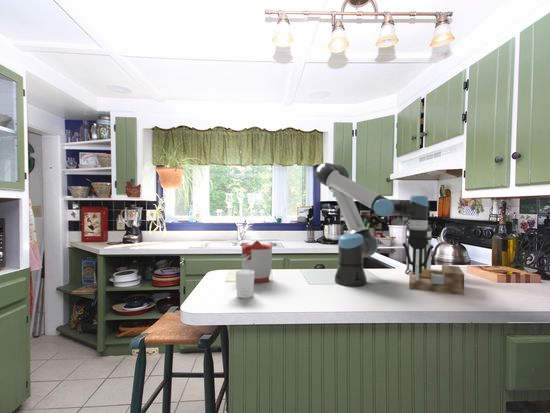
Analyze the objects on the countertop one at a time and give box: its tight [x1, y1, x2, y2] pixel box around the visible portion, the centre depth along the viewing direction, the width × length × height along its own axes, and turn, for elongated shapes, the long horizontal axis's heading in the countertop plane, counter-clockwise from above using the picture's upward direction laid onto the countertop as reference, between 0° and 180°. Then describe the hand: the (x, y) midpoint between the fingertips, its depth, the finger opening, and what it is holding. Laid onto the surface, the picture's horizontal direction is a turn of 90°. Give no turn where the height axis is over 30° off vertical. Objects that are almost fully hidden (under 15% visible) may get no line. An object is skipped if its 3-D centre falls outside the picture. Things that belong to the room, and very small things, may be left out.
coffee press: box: [404, 225, 433, 275], centre depth 156 cm, size 17×16×30 cm
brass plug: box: [419, 268, 443, 278], centre depth 135 cm, size 11×4×4 cm, turn 63°
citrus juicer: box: [240, 240, 273, 284], centre depth 140 cm, size 16×17×20 cm
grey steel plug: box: [431, 273, 445, 285], centre depth 123 cm, size 11×4×4 cm, turn 63°
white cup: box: [235, 269, 255, 299], centre depth 116 cm, size 8×8×10 cm
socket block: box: [408, 264, 465, 296], centre depth 130 cm, size 21×17×9 cm
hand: (416, 279), depth 129 cm, fingers closed
